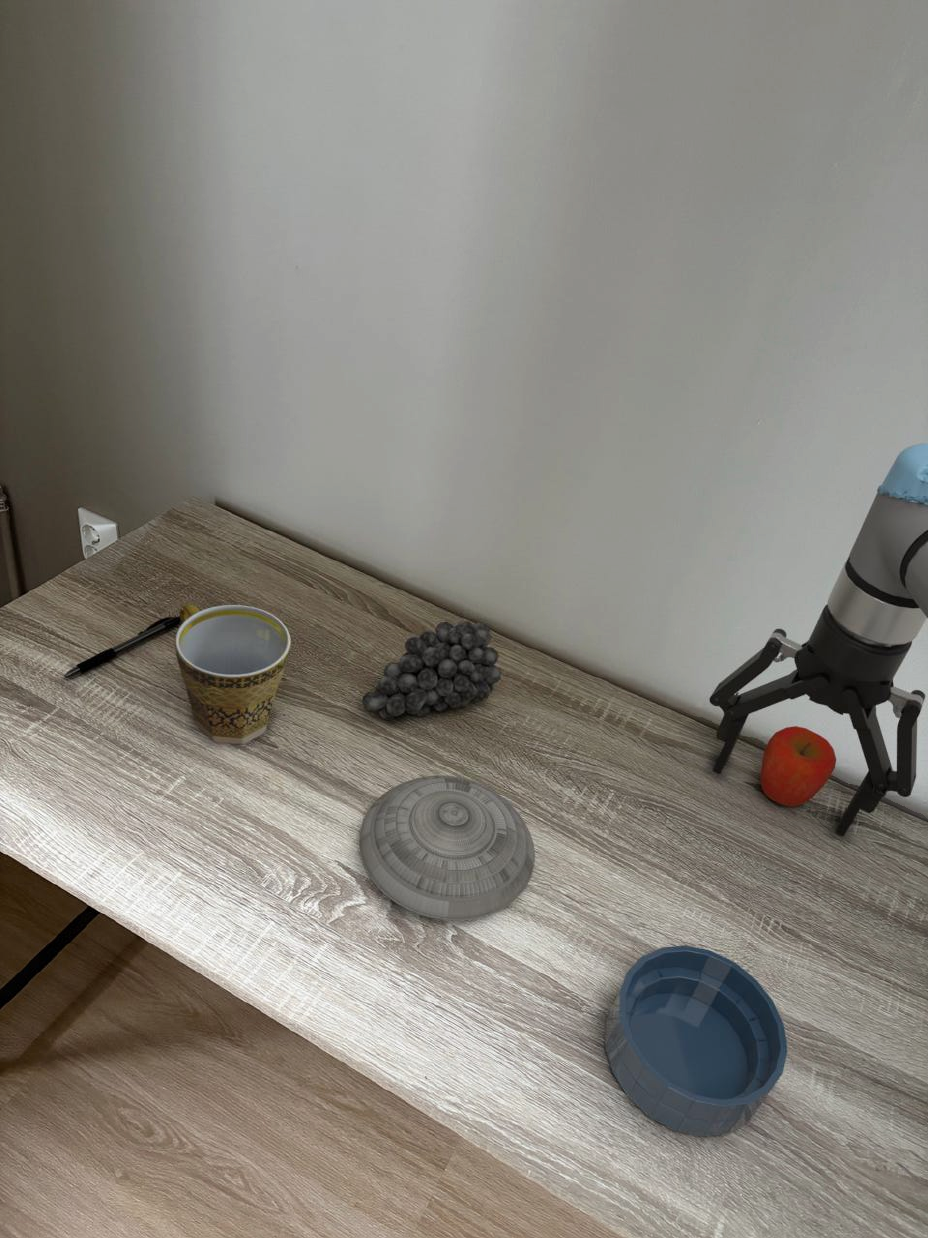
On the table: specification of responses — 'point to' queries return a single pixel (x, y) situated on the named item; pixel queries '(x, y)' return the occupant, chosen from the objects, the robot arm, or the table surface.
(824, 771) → the apple
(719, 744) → the table surface
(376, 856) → the flying saucer
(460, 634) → the fruit
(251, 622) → the ceramic cup
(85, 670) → the pen
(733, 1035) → the bowl
